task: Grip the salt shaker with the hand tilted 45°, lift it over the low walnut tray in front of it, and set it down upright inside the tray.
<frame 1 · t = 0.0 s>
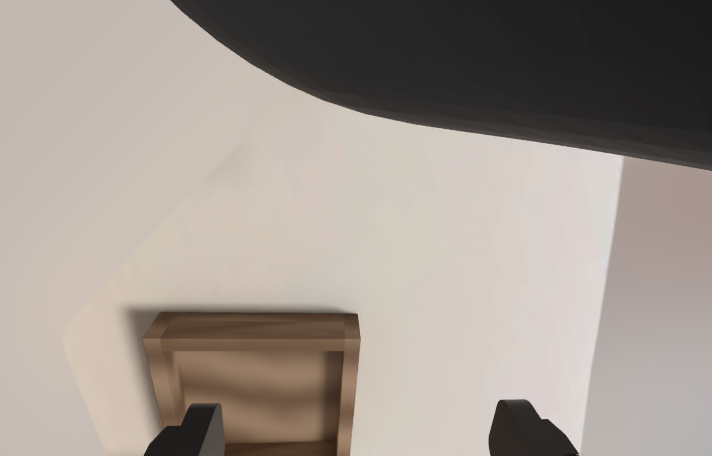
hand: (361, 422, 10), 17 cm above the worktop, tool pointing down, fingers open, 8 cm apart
walnut tray: (265, 383, 33), on the worktop
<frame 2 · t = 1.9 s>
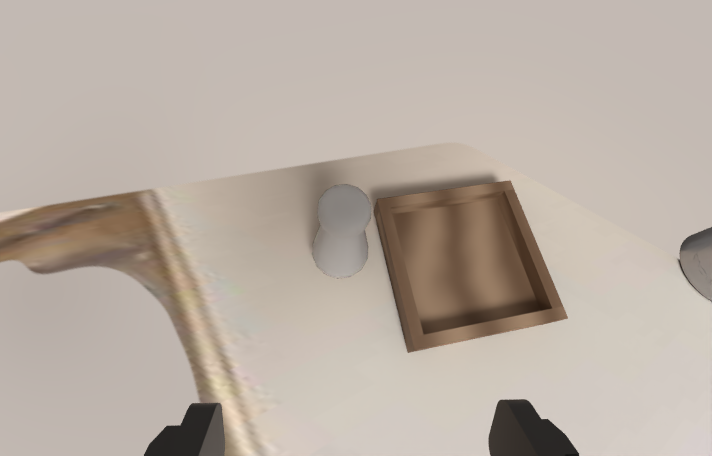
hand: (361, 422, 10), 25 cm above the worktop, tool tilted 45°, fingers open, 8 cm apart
salt shaker: (339, 258, 39), on the worktop
walnut tray: (458, 264, 40), on the worktop
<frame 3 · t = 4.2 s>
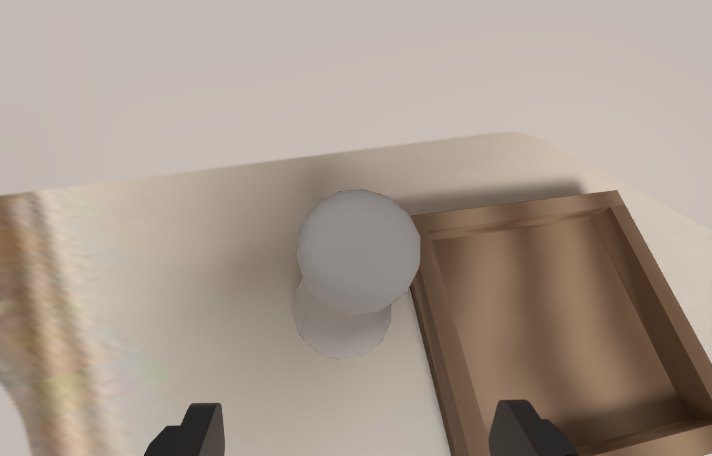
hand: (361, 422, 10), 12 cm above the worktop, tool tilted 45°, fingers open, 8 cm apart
salt shaker: (340, 315, 23), on the worktop
walnut tray: (536, 327, 24), on the worktop
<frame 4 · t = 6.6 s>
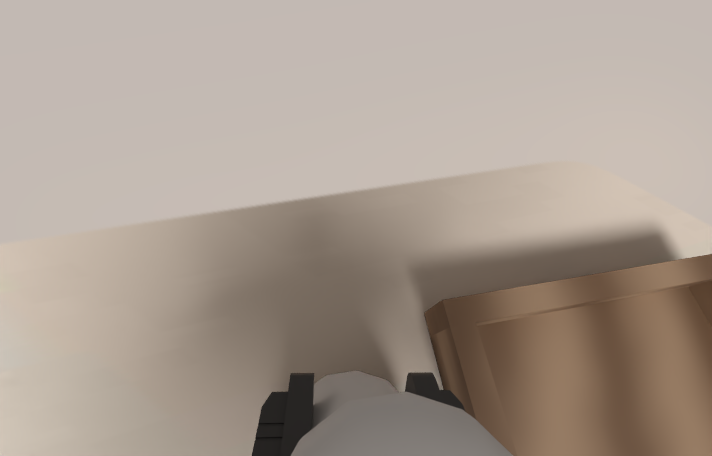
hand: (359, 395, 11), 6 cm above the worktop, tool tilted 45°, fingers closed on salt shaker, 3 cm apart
salt shaker: (346, 442, 16), on the worktop, touching gripper
walnut tray: (628, 453, 17), on the worktop
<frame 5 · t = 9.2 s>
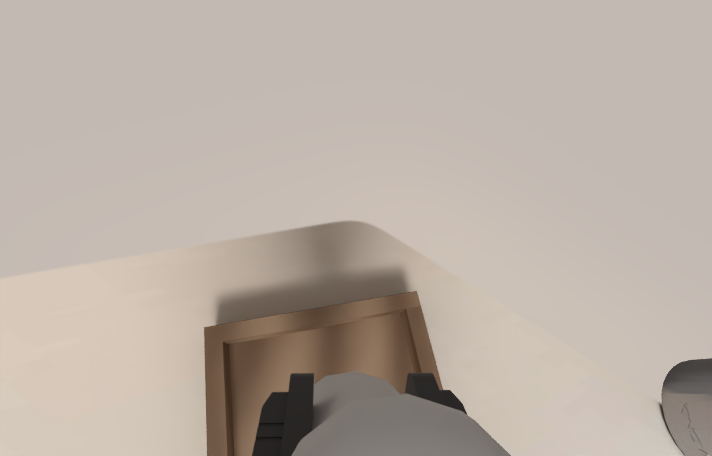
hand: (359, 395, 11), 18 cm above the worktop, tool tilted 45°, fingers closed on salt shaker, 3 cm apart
salt shaker: (346, 443, 16), point 11 cm above the worktop, touching gripper
walnut tray: (331, 423, 26), on the worktop
when the fingers open (8 cm above the worktop, at t = 11.8 s): salt shaker drops 1 cm, resting on walnut tray.
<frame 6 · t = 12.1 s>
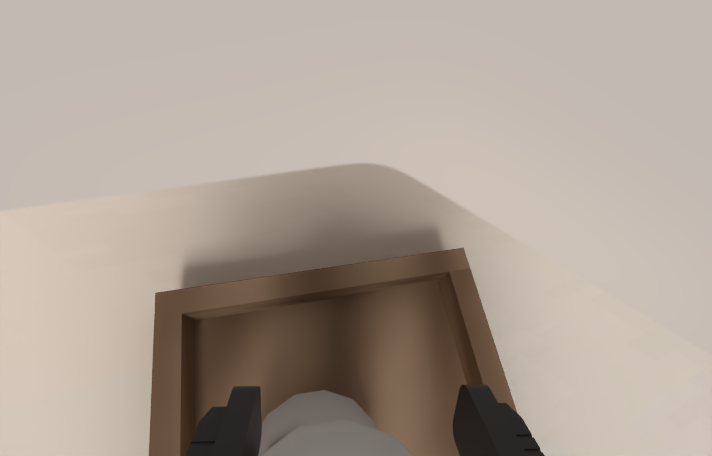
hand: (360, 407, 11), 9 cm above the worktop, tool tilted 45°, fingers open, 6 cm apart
walnut tray: (342, 436, 18), on the worktop
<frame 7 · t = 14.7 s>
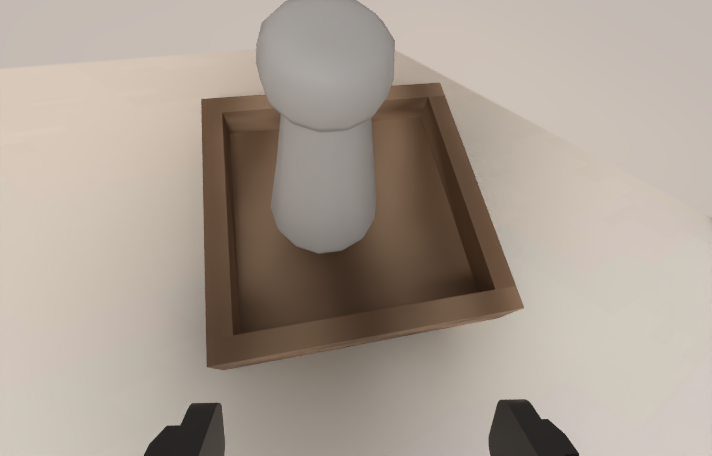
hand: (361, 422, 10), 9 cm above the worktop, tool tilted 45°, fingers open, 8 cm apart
salt shaker: (323, 222, 22), point 1 cm above the worktop, touching walnut tray
walnut tray: (344, 216, 23), on the worktop
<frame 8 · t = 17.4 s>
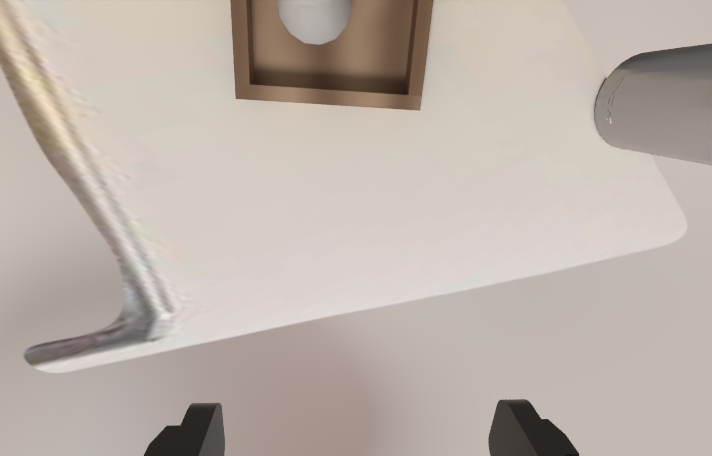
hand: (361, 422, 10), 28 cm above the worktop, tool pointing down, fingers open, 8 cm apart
salt shaker: (315, 10, 30), point 1 cm above the worktop, touching walnut tray
walnut tray: (333, 6, 31), on the worktop
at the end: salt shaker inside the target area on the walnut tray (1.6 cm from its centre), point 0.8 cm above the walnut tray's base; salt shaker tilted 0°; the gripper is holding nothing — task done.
